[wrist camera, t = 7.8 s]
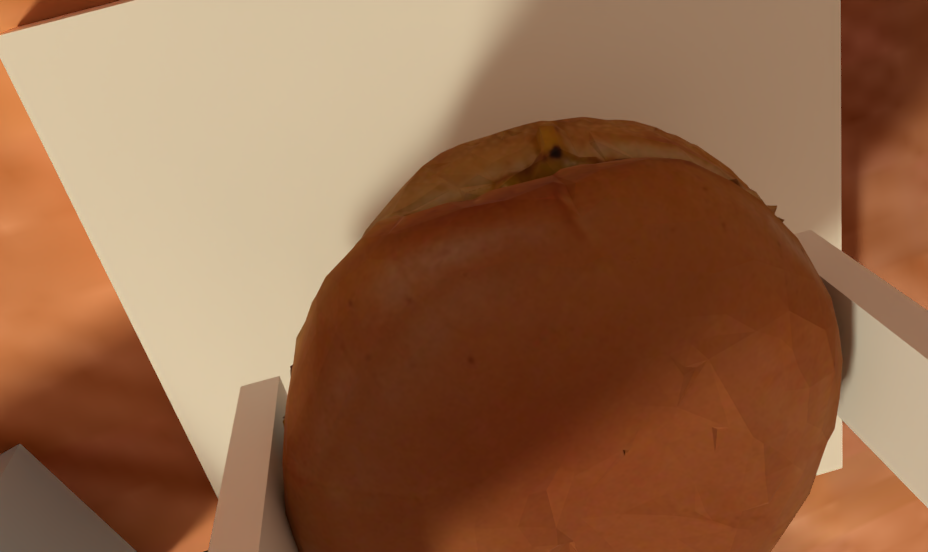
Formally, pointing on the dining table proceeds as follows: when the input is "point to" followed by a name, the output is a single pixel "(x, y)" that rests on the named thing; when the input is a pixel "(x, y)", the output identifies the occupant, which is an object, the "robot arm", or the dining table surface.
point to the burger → (563, 357)
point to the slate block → (47, 512)
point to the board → (377, 139)
